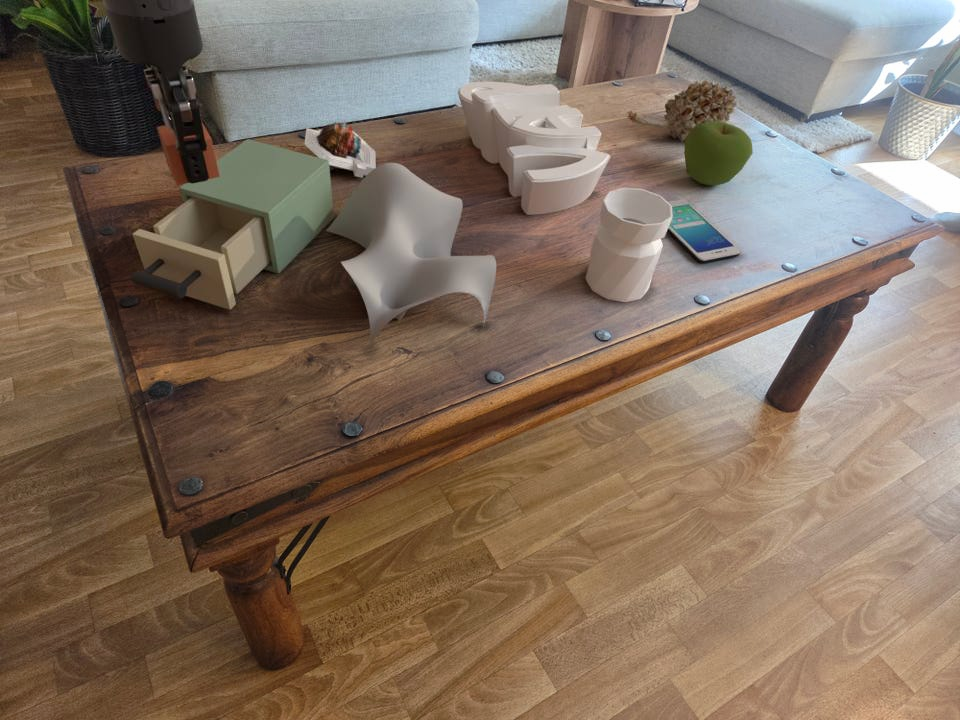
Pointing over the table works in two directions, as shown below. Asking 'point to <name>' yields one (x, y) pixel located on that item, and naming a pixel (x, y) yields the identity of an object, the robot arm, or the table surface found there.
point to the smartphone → (699, 234)
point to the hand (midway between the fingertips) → (192, 168)
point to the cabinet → (273, 194)
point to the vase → (628, 243)
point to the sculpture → (407, 246)
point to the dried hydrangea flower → (692, 109)
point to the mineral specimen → (341, 148)
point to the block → (175, 159)
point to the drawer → (203, 252)
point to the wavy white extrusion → (534, 143)
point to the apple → (716, 152)
